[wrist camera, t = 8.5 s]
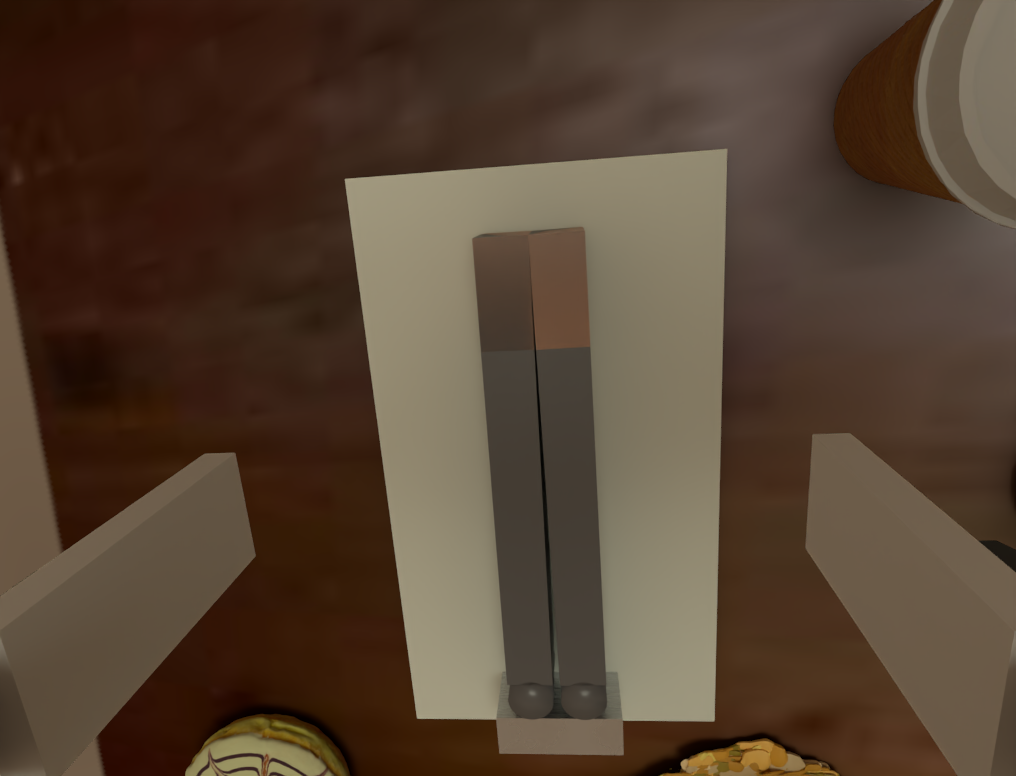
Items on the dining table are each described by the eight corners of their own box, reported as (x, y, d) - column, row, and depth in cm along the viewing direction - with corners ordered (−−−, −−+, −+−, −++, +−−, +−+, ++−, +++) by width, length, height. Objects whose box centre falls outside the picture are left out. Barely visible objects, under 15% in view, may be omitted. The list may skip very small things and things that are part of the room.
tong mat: (723, 150, 30) (727, 148, 29) (711, 711, 39) (714, 721, 38) (349, 179, 32) (344, 178, 31) (420, 708, 41) (417, 718, 40)
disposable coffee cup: (933, -61, 27) (1200, -247, 16) (1065, 110, 29) (1399, 53, 17) (752, 113, 30) (869, 61, 18) (881, 263, 31) (1066, 302, 20)
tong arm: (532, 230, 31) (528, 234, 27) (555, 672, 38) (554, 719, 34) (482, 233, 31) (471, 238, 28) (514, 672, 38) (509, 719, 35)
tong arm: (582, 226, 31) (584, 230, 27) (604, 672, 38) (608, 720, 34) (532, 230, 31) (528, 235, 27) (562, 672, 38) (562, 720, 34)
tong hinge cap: (617, 671, 38) (622, 719, 35) (618, 705, 39) (623, 755, 35) (502, 671, 39) (496, 718, 35) (505, 704, 39) (499, 753, 36)
